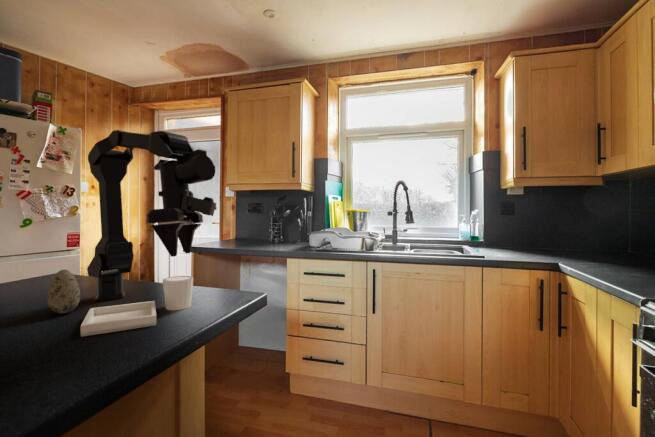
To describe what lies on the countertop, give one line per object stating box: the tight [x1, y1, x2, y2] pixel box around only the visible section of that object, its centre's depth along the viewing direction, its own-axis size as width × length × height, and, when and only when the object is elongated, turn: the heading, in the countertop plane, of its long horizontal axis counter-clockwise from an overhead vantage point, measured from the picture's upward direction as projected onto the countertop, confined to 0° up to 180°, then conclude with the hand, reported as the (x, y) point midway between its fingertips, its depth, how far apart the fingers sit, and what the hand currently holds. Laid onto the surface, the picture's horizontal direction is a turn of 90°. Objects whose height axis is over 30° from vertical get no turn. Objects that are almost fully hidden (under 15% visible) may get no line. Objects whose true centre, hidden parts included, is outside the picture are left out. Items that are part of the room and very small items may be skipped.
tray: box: [80, 300, 157, 337], centre depth 71 cm, size 13×13×2 cm
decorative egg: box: [46, 269, 81, 314], centre depth 76 cm, size 6×6×10 cm
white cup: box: [162, 275, 194, 311], centre depth 81 cm, size 7×7×7 cm
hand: (181, 254), depth 76 cm, fingers open, 9 cm apart
